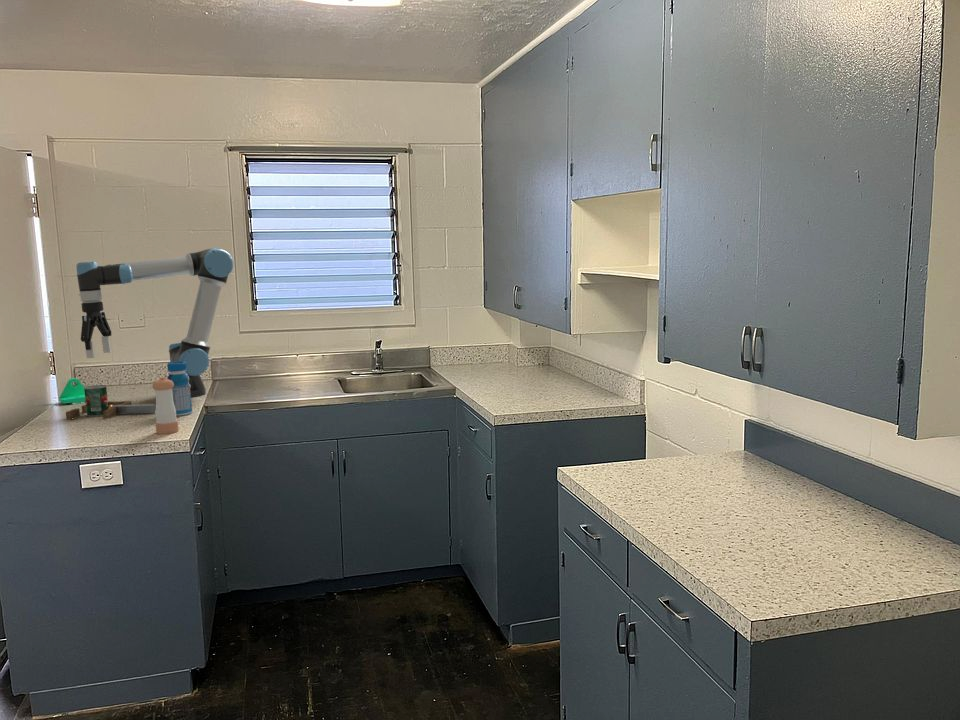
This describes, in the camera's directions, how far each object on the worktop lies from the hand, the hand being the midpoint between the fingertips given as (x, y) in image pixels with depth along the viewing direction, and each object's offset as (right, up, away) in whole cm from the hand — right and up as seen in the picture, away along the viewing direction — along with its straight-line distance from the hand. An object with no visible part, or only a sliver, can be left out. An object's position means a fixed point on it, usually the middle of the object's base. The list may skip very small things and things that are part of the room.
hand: (99, 355), depth 314 cm
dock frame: (+1, -23, -3) cm, 23 cm away
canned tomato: (+1, -23, -3) cm, 24 cm away
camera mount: (-21, -20, +24) cm, 38 cm away
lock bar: (+15, -23, -4) cm, 28 cm away
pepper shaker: (+42, -27, -37) cm, 62 cm away
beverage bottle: (+35, -23, -7) cm, 43 cm away
